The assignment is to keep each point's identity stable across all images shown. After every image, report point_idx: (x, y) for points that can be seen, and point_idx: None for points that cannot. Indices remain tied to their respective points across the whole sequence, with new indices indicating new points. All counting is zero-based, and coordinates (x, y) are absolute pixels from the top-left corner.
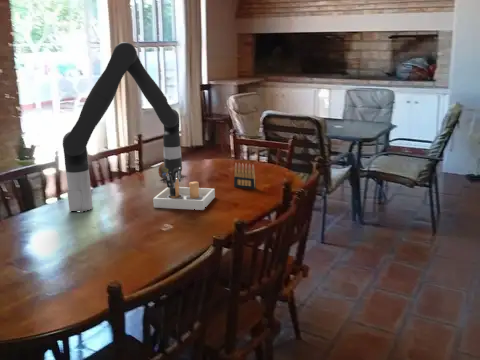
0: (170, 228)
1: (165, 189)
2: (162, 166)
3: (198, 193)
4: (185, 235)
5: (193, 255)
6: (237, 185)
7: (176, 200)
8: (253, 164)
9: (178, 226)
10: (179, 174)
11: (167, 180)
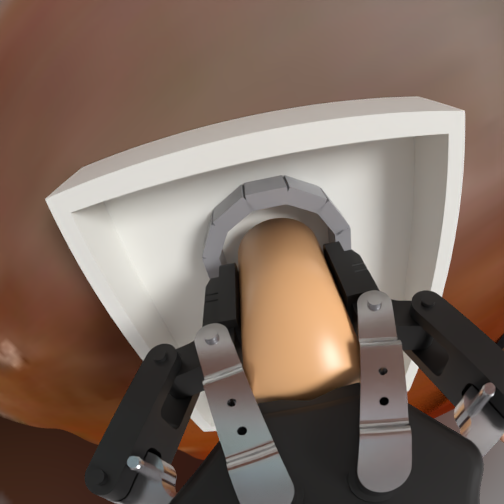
0: (8, 364)
1: (375, 127)
2: None
3: None
4: (23, 399)
5: (3, 416)
6: (501, 346)
7: (141, 352)
8: (502, 441)
9: (32, 377)
10: (451, 395)
11: (114, 443)
